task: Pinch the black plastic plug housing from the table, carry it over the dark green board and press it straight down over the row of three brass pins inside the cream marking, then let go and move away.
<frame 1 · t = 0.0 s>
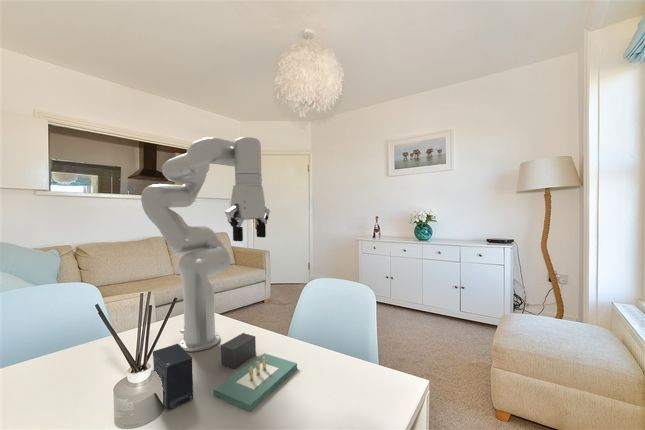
hand: (250, 239, 84), 37 cm above the table, tool pointing down, fingers open, 9 cm apart
small box: (173, 395, 71), on the table
header pins: (257, 368, 76), on the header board, point 3 cm above the table
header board: (258, 380, 76), on the table
plug housing: (239, 360, 86), on the table
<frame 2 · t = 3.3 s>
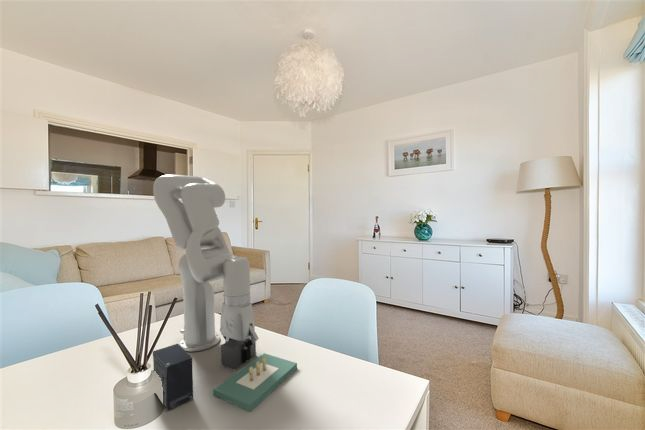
hand: (239, 357, 86), 1 cm above the table, tool pointing down, fingers closed on plug housing, 5 cm apart
plug housing: (239, 360, 86), on the table, touching gripper
everything else where it was.
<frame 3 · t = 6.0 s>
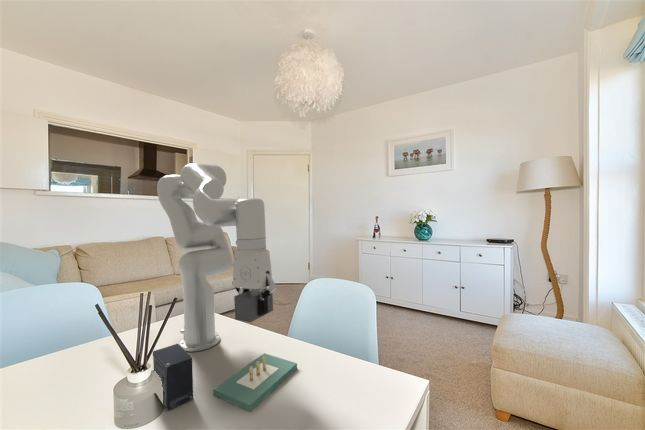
hand: (254, 311, 76), 18 cm above the table, tool pointing down, fingers closed on plug housing, 5 cm apart
plug housing: (254, 314, 76), point 17 cm above the table, touching gripper
everything else where it was.
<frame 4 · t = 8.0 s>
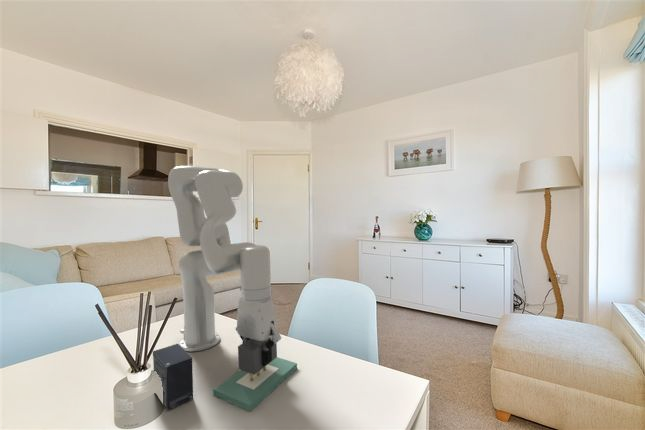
hand: (258, 360, 75), 6 cm above the table, tool pointing down, fingers closed on plug housing, 5 cm apart
plug housing: (258, 363, 75), point 5 cm above the table, touching gripper
everything else where it was.
when the fingers open (3 cm above the table, at t = 9.0 s): plug housing stays where it is, resting on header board.
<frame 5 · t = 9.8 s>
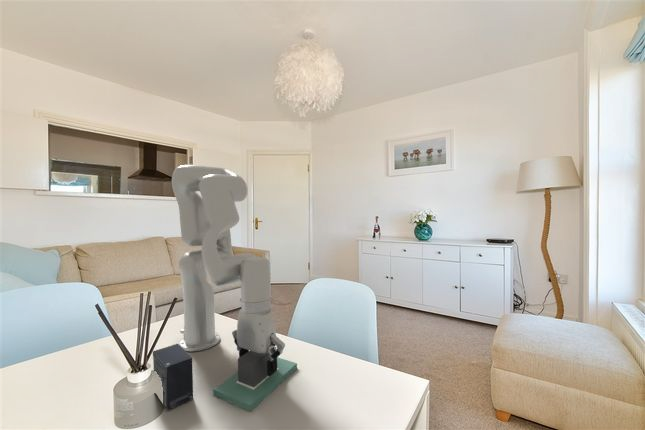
hand: (257, 368, 76), 3 cm above the table, tool pointing down, fingers open, 9 cm apart
plug housing: (258, 374, 76), point 2 cm above the table, touching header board
everything else where it was.
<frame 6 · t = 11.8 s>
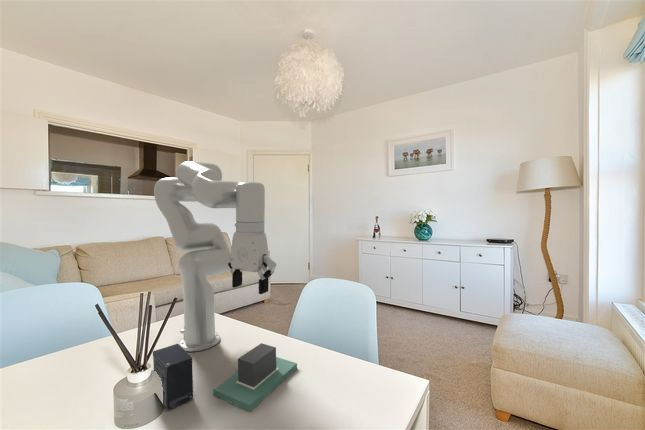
hand: (250, 289, 79), 24 cm above the table, tool pointing down, fingers open, 9 cm apart
nothing on the table moved.
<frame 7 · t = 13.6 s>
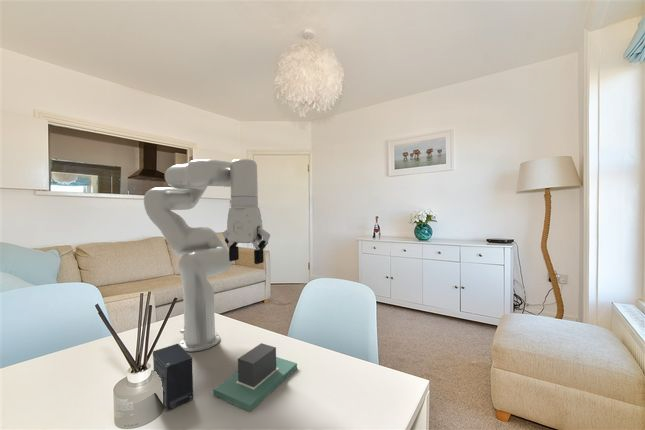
hand: (246, 261, 83), 30 cm above the table, tool pointing down, fingers open, 9 cm apart
nothing on the table moved.
at the end: plug housing 0.0 cm off-centre on the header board, point 1.6 cm above the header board's base; plug housing tilted 0°; the gripper is holding nothing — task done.
